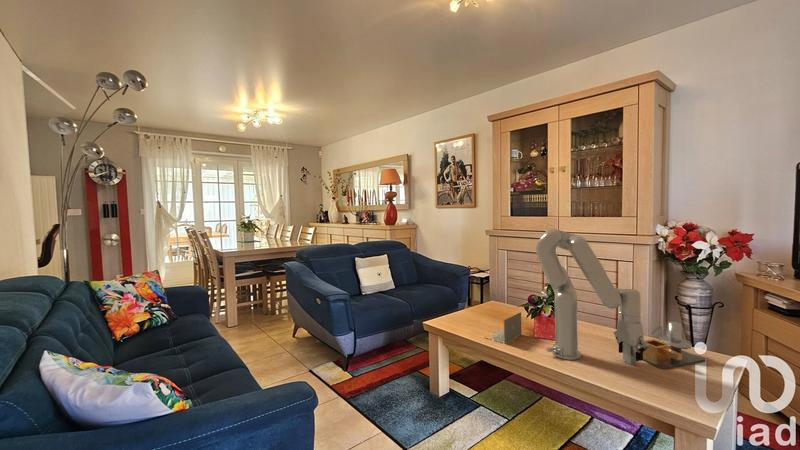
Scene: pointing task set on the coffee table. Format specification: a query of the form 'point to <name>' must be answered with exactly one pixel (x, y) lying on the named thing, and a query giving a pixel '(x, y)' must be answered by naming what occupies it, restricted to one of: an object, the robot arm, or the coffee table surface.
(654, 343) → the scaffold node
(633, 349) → the grey block
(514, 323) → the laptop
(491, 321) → the coffee table surface
